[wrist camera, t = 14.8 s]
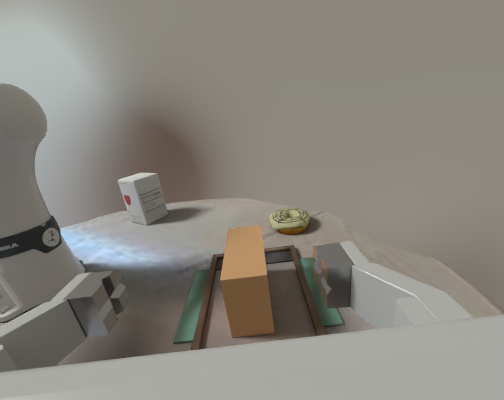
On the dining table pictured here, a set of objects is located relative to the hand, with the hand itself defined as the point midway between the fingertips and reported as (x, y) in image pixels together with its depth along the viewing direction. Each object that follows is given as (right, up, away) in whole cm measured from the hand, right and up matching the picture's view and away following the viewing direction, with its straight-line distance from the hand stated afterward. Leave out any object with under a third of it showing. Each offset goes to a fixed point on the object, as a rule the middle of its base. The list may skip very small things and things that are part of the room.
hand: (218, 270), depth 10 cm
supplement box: (-33, -4, +71) cm, 78 cm away
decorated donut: (+12, -4, +53) cm, 54 cm away
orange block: (+1, -14, +30) cm, 33 cm away
